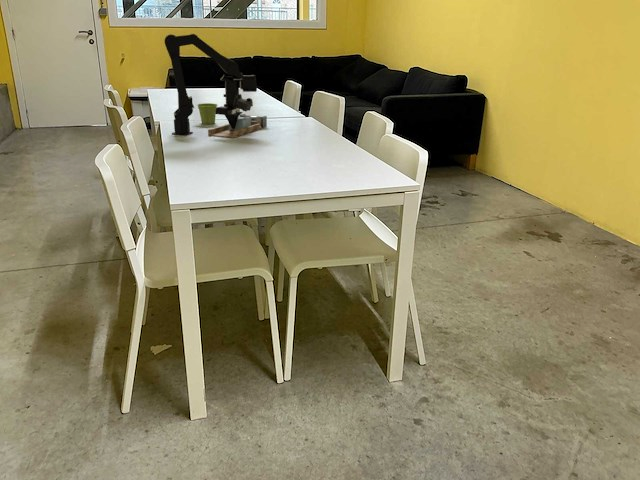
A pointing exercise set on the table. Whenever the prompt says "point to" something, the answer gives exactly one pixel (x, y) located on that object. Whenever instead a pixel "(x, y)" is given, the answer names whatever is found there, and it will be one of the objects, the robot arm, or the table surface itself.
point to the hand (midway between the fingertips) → (233, 128)
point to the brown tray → (225, 132)
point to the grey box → (241, 123)
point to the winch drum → (257, 119)
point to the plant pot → (207, 112)
